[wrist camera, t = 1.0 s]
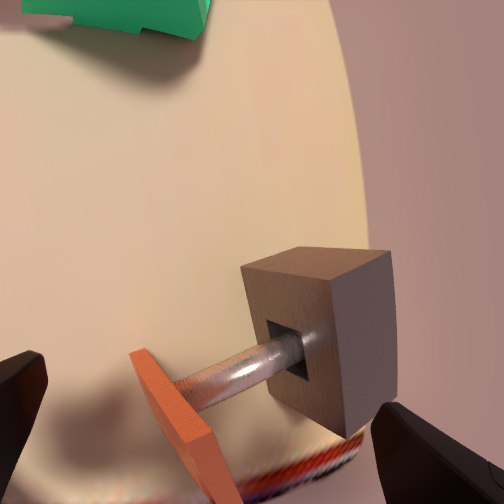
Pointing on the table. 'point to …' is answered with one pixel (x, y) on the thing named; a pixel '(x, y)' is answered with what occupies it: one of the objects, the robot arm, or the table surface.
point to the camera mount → (130, 14)
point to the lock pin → (210, 405)
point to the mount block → (329, 330)
